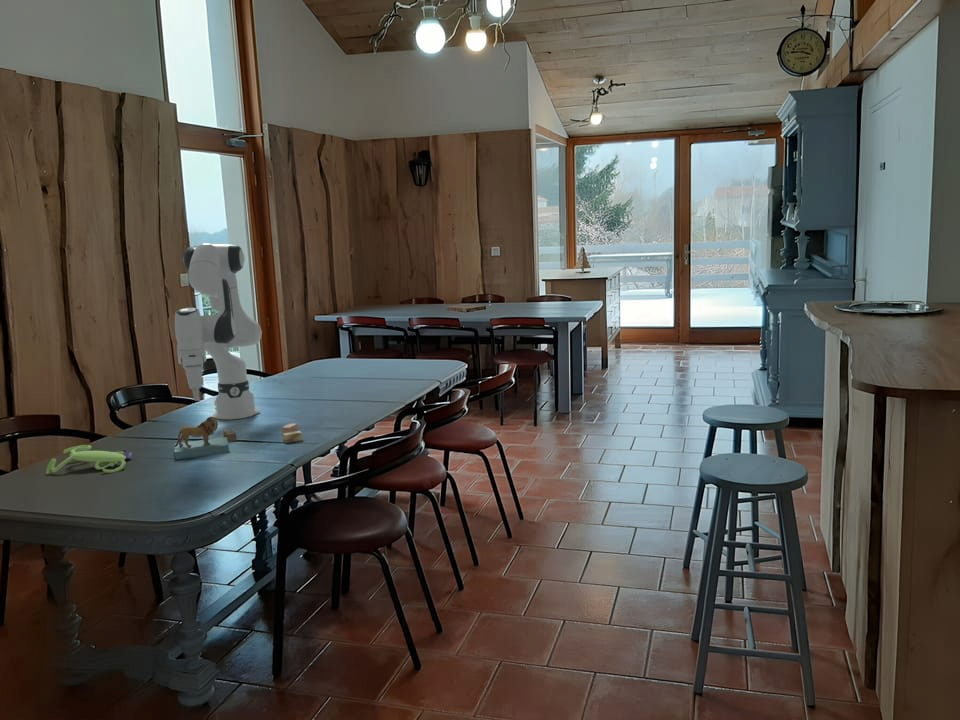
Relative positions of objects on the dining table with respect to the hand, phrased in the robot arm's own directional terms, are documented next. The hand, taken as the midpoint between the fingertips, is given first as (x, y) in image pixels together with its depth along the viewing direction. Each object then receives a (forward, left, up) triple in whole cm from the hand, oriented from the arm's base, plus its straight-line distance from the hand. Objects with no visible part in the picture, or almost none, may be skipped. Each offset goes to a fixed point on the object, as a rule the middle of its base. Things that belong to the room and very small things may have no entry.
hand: (196, 397), depth 264 cm
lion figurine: (0, -1, -16) cm, 16 cm away
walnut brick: (-12, +10, -19) cm, 24 cm away
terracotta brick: (-10, +31, -19) cm, 38 cm away
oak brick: (+2, +30, -19) cm, 36 cm away
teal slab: (0, 0, -19) cm, 19 cm away
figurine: (-1, -34, -19) cm, 39 cm away
